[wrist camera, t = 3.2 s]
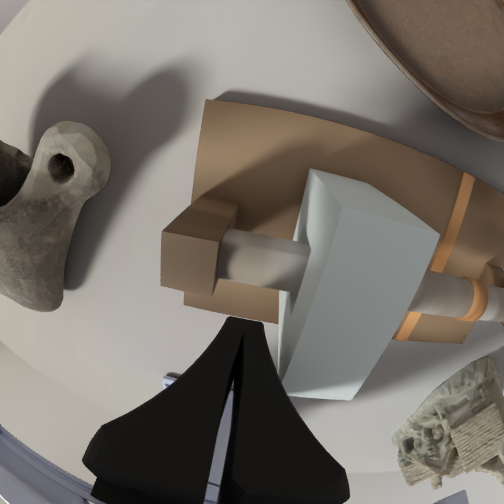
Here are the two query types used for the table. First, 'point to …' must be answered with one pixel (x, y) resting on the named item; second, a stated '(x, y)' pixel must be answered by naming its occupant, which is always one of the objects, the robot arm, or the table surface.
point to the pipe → (45, 209)
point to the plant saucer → (446, 53)
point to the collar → (348, 285)
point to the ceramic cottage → (456, 428)
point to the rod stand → (287, 212)
